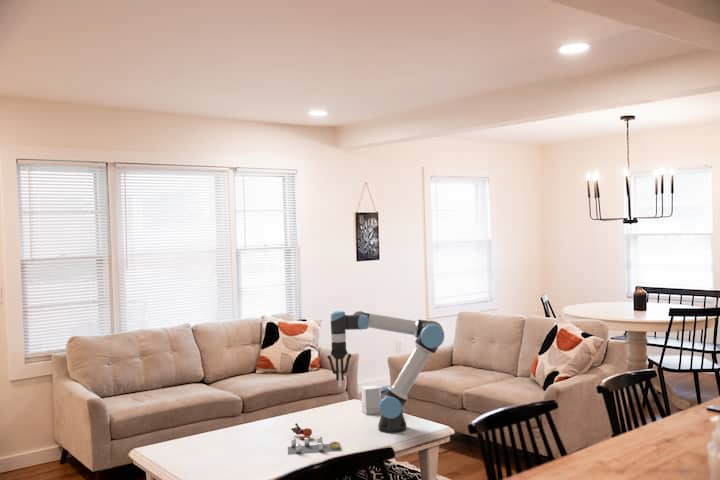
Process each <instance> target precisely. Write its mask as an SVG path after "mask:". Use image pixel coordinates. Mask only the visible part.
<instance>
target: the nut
mask: <svg viewBox="0 0 720 480" xmlns="http://www.w3.org/2000/svg"><path fill="white" fill-rule="evenodd" d="M339 443H340V442H339V441H331V442H330V443H329V444H330V448H331V449H338V448H339Z"/></svg>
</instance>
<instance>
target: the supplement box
mask: <svg viewBox="0 0 720 480" xmlns="http://www.w3.org/2000/svg"><path fill="white" fill-rule="evenodd" d="M360 389H361V391H360V392H361V394H360V395H361V412H362V413H363V414H365V415H366V416H367V415H368V416H369V415H377V414H381V412H380V410H379V403H380V399H381V393H380V391H381V387H378V386H377V385H375V384H373V385H362V386H361V387H360Z"/></svg>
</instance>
